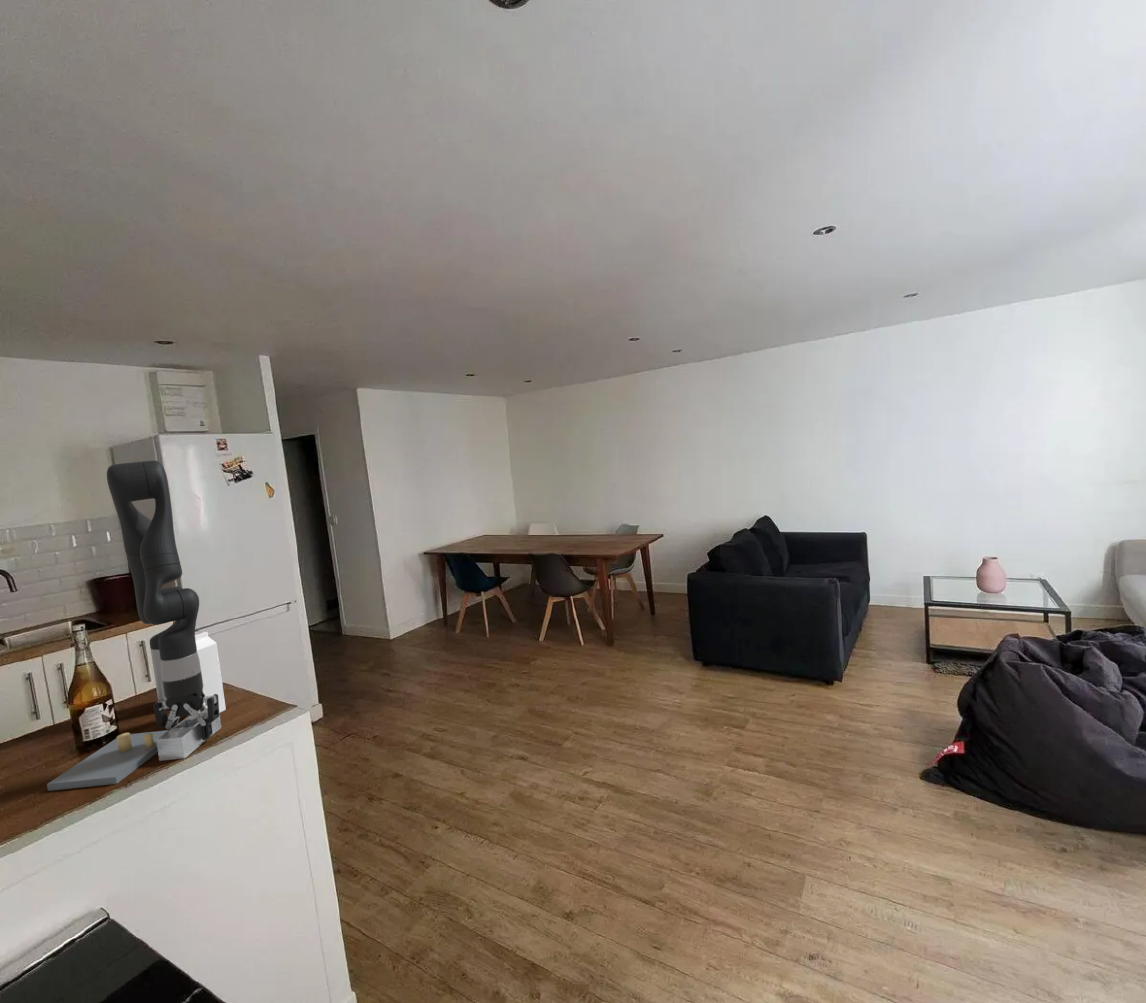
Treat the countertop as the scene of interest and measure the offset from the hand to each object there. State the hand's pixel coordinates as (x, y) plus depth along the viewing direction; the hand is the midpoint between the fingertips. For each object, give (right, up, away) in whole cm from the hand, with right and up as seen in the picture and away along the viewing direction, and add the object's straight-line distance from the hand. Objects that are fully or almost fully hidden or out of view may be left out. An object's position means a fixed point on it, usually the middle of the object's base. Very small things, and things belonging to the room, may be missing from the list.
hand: (191, 740), depth 129 cm
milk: (-7, 0, +16) cm, 17 cm away
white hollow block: (0, -1, 0) cm, 1 cm away
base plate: (-13, -2, -5) cm, 14 cm away
